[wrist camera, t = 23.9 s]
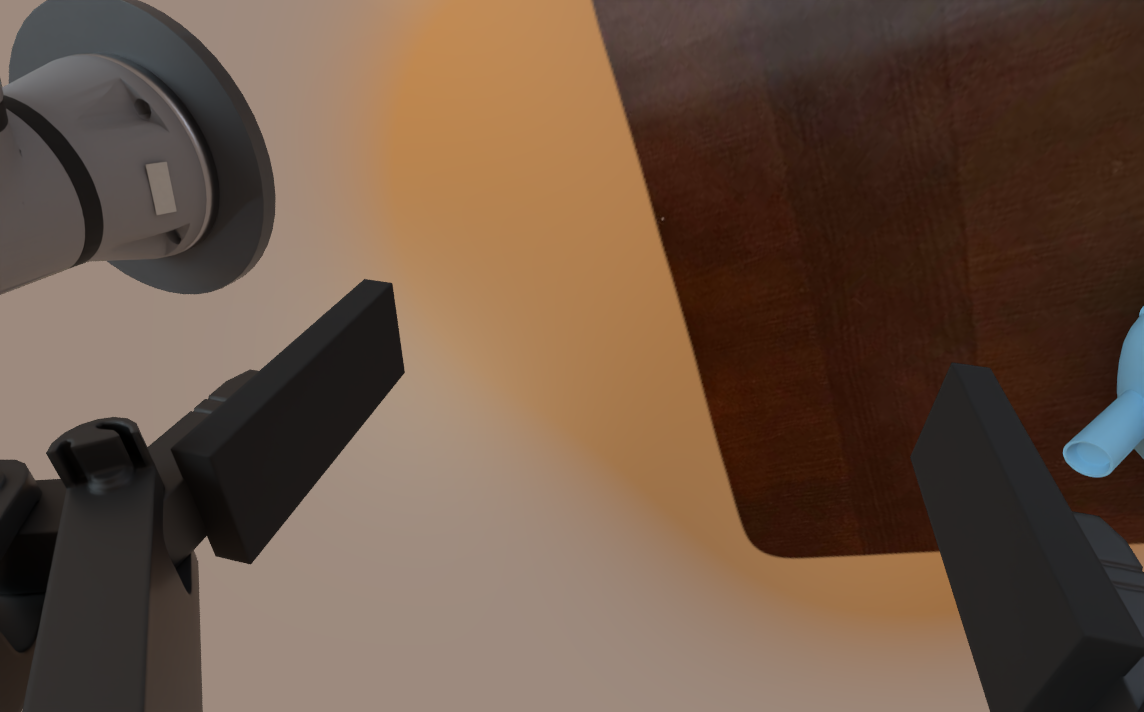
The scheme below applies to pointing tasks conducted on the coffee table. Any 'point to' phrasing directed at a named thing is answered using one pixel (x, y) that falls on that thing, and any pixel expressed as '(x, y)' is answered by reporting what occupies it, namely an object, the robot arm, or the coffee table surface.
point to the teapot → (1115, 416)
